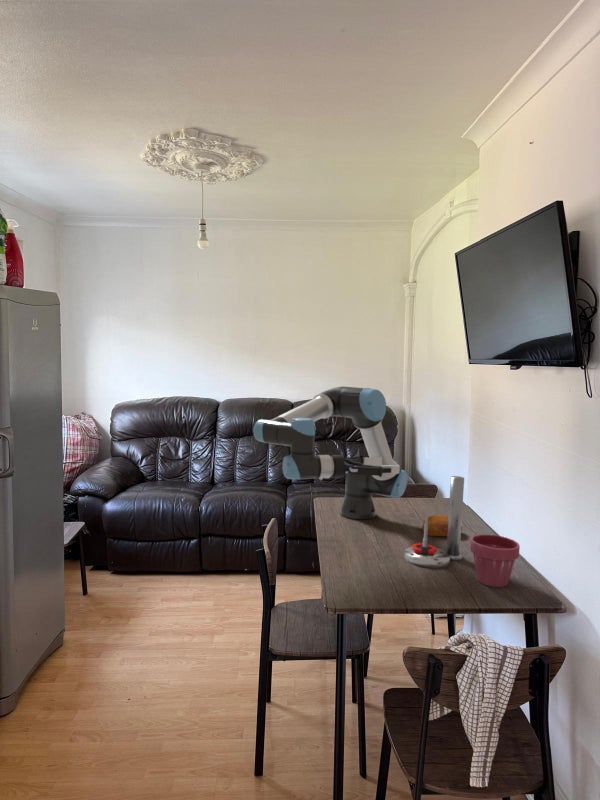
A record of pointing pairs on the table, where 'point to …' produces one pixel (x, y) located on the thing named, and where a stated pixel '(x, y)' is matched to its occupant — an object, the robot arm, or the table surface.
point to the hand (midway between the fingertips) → (389, 465)
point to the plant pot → (494, 558)
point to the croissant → (437, 525)
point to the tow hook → (424, 543)
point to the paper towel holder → (454, 532)
